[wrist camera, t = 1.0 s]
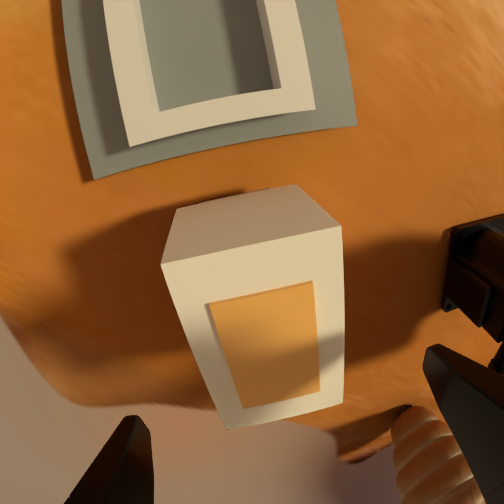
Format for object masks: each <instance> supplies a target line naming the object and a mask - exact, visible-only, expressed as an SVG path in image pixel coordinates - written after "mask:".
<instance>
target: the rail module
mask: <svg viewBox="0 0 504 504" xmlns="http://www.w3.org/2000/svg"><path fill="white" fill-rule="evenodd" d="M160 265H161V268H162V271H163V274H164V277H165V280H166V283H167V286H168V288H169V291H170V294H171V297H172V300H173V302H174V305H175V308H176V311H177V313H178V316H179V319H180V321H181V324H182V327H183V329H184V332H185V335H186V337H187V340H188V342H189V345H190V347H191V350H192V352H193V355H194V357H195V360H196V362H197V365H198V367H199V370H200V372H201V374H202V377H203V379H204V381H205V384H206V386H207V388H208V391H209V393H210V395H211V398H212V400H213V402H214V404H215V407H216V409H217V411H218V413H219V415H220V418H221V419H222V422H223V424H224V426H225V428H226V430H229V429H235V428H240V427H246V426H251V425H257V424H262V423H267V422H271V421H276V420H280V419H285V418H289V417H293V416H297V415H301V414H305V413H309V412H313V411H317V410H320V409H324V408H327V407H331V406H334V405H338V404H341V403H343V385H344V347H345V307H344V268H343V246H342V229H341V225H340V224H339V223H338V222H337V221H336V220H335V219H334V218H333V217H332V216H330V215H329V214H328V213H327V212H326V211H325V210H324V209H323V208H322V207H321V206H320V205H319V204H317V203H316V202H315V201H314V200H313V199H312V198H311V197H310V196H309V195H308V194H306V193H305V192H304V191H303V190H302V189H301V188H300V187H299V186H297V185H296V184H293V185H287V186H282V187H277V188H266V189H261V190H256V191H251V192H246V193H241V194H237V195H232V196H227V197H222V198H218V199H213V200H209V201H204V202H200V203H199V204H195V205H191V206H187V207H182V208H178V209H176V212H175V216H174V219H173V222H172V225H171V229H170V232H169V236H168V239H167V242H166V246H165V249H164V253H163V256H162V260H161V264H160Z"/></svg>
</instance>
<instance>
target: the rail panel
mask: <svg viewBox="0 0 504 504" xmlns="http://www.w3.org/2000/svg"><path fill="white" fill-rule="evenodd" d="M61 1H62V14H63V24H64V33H65V42H66V49H67V57H68V63H69V70H70V76H71V82H72V87H73V93H74V98H75V103H76V108H77V113H78V117H79V122H80V126H81V131H82V135H83V139H84V143H85V147H86V151H87V155H88V159H89V163H90V167H91V170H92V174H93V177H94V180H95V179H98V178H101V177H105V176H108V175H111V174H114V173H118V172H121V171H125V170H128V169H131V168H135V167H139V166H142V165H146V164H150V163H153V162H157V161H161V160H165V159H169V158H173V157H177V156H181V155H185V154H189V153H194V152H198V151H203V150H207V149H212V148H216V147H221V146H226V145H231V144H236V143H241V142H246V141H252V140H257V139H263V138H269V137H275V136H281V135H288V134H294V133H301V132H308V131H316V130H323V129H332V128H340V127H350V126H357V118H356V110H355V103H354V96H353V89H352V82H351V76H350V70H349V64H348V58H347V53H346V48H345V42H344V37H343V32H342V28H341V23H340V18H339V14H338V10H337V5H336V1H335V0H61Z"/></svg>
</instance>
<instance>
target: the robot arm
mask: <svg viewBox="0 0 504 504" xmlns="http://www.w3.org/2000/svg"><path fill="white" fill-rule="evenodd" d="M458 234H459V235H458ZM441 308H442V310H443V311H444V312H449V311H452V310H454V309H457V308H459V309H460V310H461V311H462V312H463V313H464V314H465V315H466V316H467V317H468V318H469V319H470V320H471V321H472V322H473V323H474V324H475V325H476V326H477V327H483V328H484V329H485V330H486V331H487V332H488V333H489V335H490V336H491V337H492V338H493V339H494V340H495V341H496V342H497V343H500V342H501V341H503V342H502V344H501V345H500V347H499V349H498V351H497V353H496V355H495V356H494V358H493V359H491V361H490V363H489V364H488V368H487V367H485V366H483V365H481V364H479V363H477V362H475V361H473V360H471V359H469V358H467V357H465V356H463V355H461V354H459V353H457V352H455V351H453V350H451V349H449V348H447V347H445V346H443V345H441V344H435V345H432V346H430V347H428V348H427V349H426V353H425V357H424V361H423V371H424V374H425V376H426V379H427V381H428V383H429V386H430V388H431V390H432V393H433V395H434V398H435V400H436V403H437V405H438V407H439V409H440V411H441V413H442V415H443V417H444V419H445V421H446V422H447V424H448V426H449V428H450V430H451V432H452V434H453V436H454V438H455V440H456V442H457V444H458V445H459V447H460V449H461V451H462V453H463V455H464V457H465V459H466V462H467V464H468V466H469V468H470V470H471V472H472V474H473V476H474V478H475V480H476V483H477V485H478V487H479V489H480V491H481V493H482V496H483V498H484V501H485V503H486V504H504V214H503V215H499V216H496V217H492V218H488V219H484V220H480V221H477V222H473V223H469V224H465V225H461V226H457V227H455V228H454V229H453V230H452V232H451V239H450V248H449V257H448V265H447V272H446V279H445V285H444V291H443V297H442V303H441ZM64 504H154V470H153V460H152V449H151V436H150V432H149V429H148V428H147V426H146V425H145V424H144V422H143V421H142V420H141V418H140V417H139V416H137V415H130V416H126V417H124V418H123V420H122V421H121V422H120V424H119V425H118V427H117V428H116V430H115V431H114V432H113V434H112V435H111V437H110V438H109V440H108V441H107V442H106V444H105V445H104V447H103V448H102V450H101V451H100V452H99V454H98V455H97V457H96V458H95V460H94V461H93V462H92V464H91V465H90V467H89V468H88V470H87V471H86V472H85V474H84V475H83V477H82V478H81V480H80V481H79V482H78V484H77V485H76V487H75V488H74V490H73V491H72V493H71V494H70V497H69V498H67V500H66V501H65V502H64Z"/></svg>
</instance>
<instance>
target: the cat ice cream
mask: <svg viewBox="0 0 504 504" xmlns="http://www.w3.org/2000/svg"><path fill="white" fill-rule="evenodd" d="M391 437H392V442H393V444H394V446H395V449H394V453H393V463H394V467H395V469H396V472H397V476H396V485H397V488H398V490H399V492H400V494H401V495H402V496H403V498H402V500H401V504H486V503H485V501H484V498H483V496H482V493H481V491H480V489H479V487H478V485H477V483H476V480H475V478H474V476H473V474H472V472H471V470H470V468H469V466H468V464H467V462H466V459H465V457H464V455H463V453H462V451H461V449H460V447H459V445H458V444H457V442H456V440H455V438H454V436H453V434H452V432H451V430H450V428H449V426H448V425H447V424H445V423H444V422H442V421H440V420H438V419H437V417H436V415H435V414H434V413H433V412H432V411H430V410H429V409H427V408H425V407H422V406H413V407H410V408H408V409H406V410H404V411H403V412H402V413H401V414H400V415H399V416H398V417H397V418H396V420H395V421H394V423H393V425H392V428H391Z"/></svg>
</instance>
